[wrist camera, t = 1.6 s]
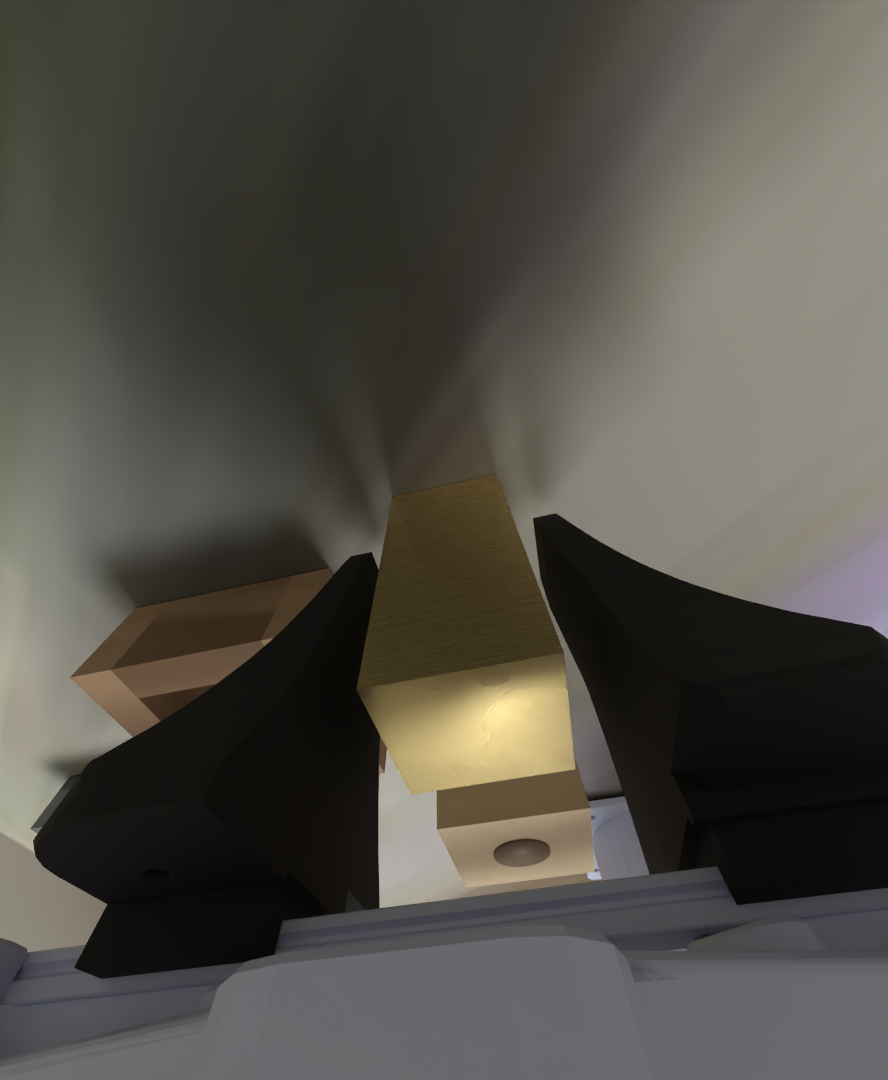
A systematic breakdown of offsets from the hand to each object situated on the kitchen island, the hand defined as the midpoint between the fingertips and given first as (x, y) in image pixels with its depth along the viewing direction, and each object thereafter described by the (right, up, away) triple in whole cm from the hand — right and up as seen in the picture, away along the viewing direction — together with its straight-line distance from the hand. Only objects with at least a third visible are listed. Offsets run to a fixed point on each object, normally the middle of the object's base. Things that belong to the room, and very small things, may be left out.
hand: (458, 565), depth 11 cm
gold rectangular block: (0, +1, +2) cm, 2 cm away
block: (+2, -6, +6) cm, 9 cm away
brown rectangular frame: (-7, -4, +4) cm, 9 cm away
